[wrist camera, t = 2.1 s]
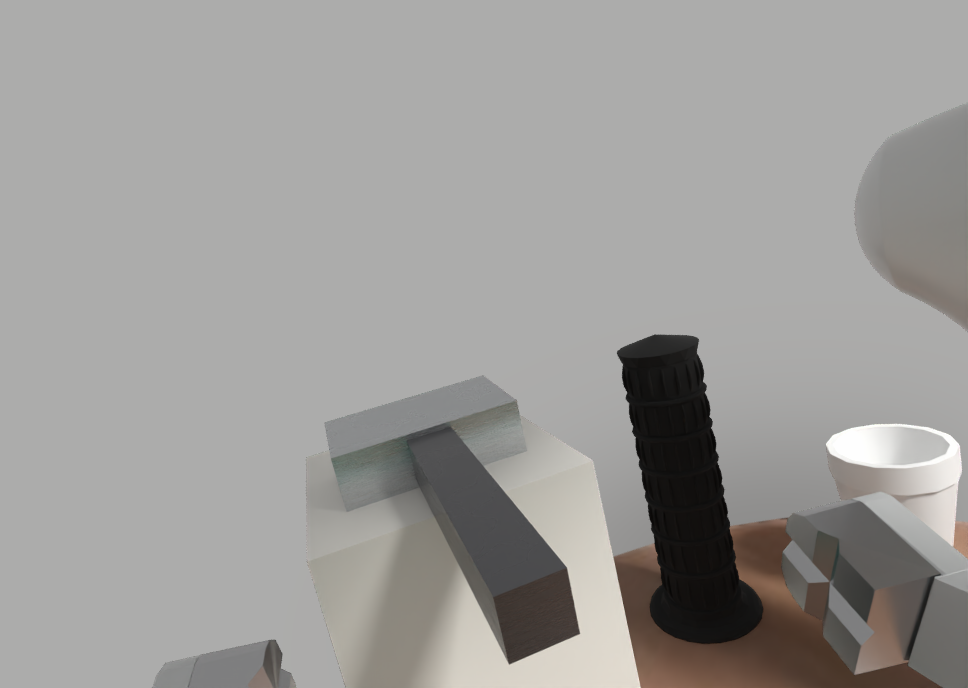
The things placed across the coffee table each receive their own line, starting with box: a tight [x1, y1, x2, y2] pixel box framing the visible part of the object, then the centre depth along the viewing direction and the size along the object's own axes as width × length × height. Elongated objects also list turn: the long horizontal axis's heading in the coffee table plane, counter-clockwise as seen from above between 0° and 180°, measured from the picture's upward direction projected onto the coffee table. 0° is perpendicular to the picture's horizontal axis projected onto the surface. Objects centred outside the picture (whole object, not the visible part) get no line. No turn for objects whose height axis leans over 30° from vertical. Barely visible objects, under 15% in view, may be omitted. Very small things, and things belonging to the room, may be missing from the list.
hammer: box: [325, 376, 580, 665], centre depth 27 cm, size 10×20×3 cm, turn 17°
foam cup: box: [826, 424, 962, 546], centre depth 52 cm, size 10×9×13 cm
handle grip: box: [617, 335, 763, 643], centre depth 54 cm, size 10×26×10 cm
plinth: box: [306, 415, 641, 688], centre depth 37 cm, size 14×16×26 cm
